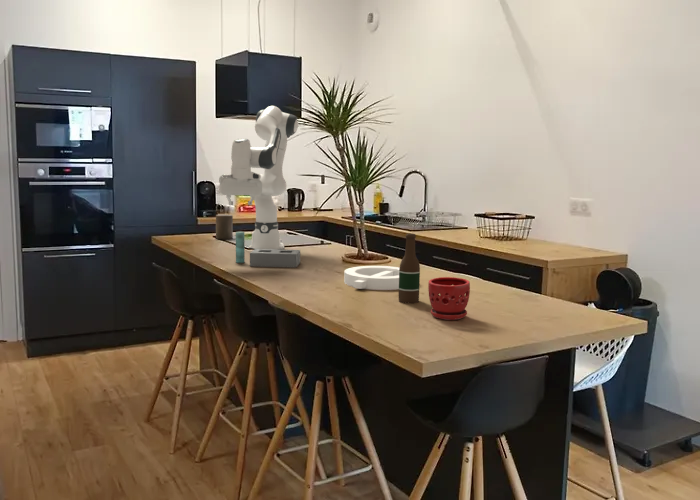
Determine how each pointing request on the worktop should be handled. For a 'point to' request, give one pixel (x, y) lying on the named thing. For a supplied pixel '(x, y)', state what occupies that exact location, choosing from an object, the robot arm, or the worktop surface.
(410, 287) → the beer bottle
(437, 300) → the plant pot
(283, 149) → the robot arm
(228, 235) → the pillar candle
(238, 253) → the teal peg
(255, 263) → the socket block
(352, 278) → the ring with crossbar
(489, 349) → the worktop surface
